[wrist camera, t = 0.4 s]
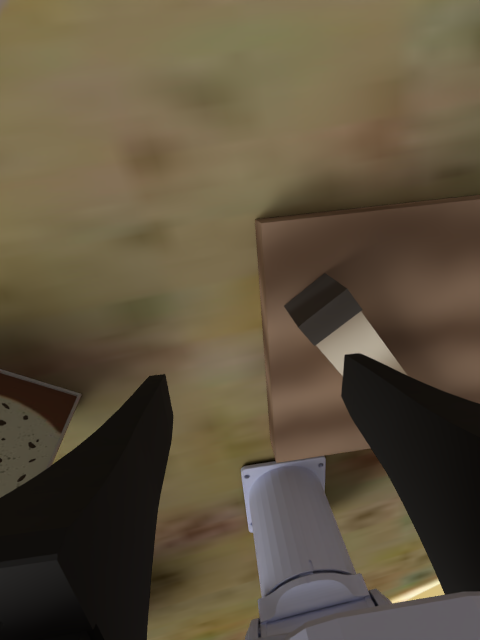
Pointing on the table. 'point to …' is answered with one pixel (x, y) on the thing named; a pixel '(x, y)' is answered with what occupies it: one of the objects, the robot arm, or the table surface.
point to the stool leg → (337, 324)
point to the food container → (30, 426)
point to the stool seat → (369, 308)
